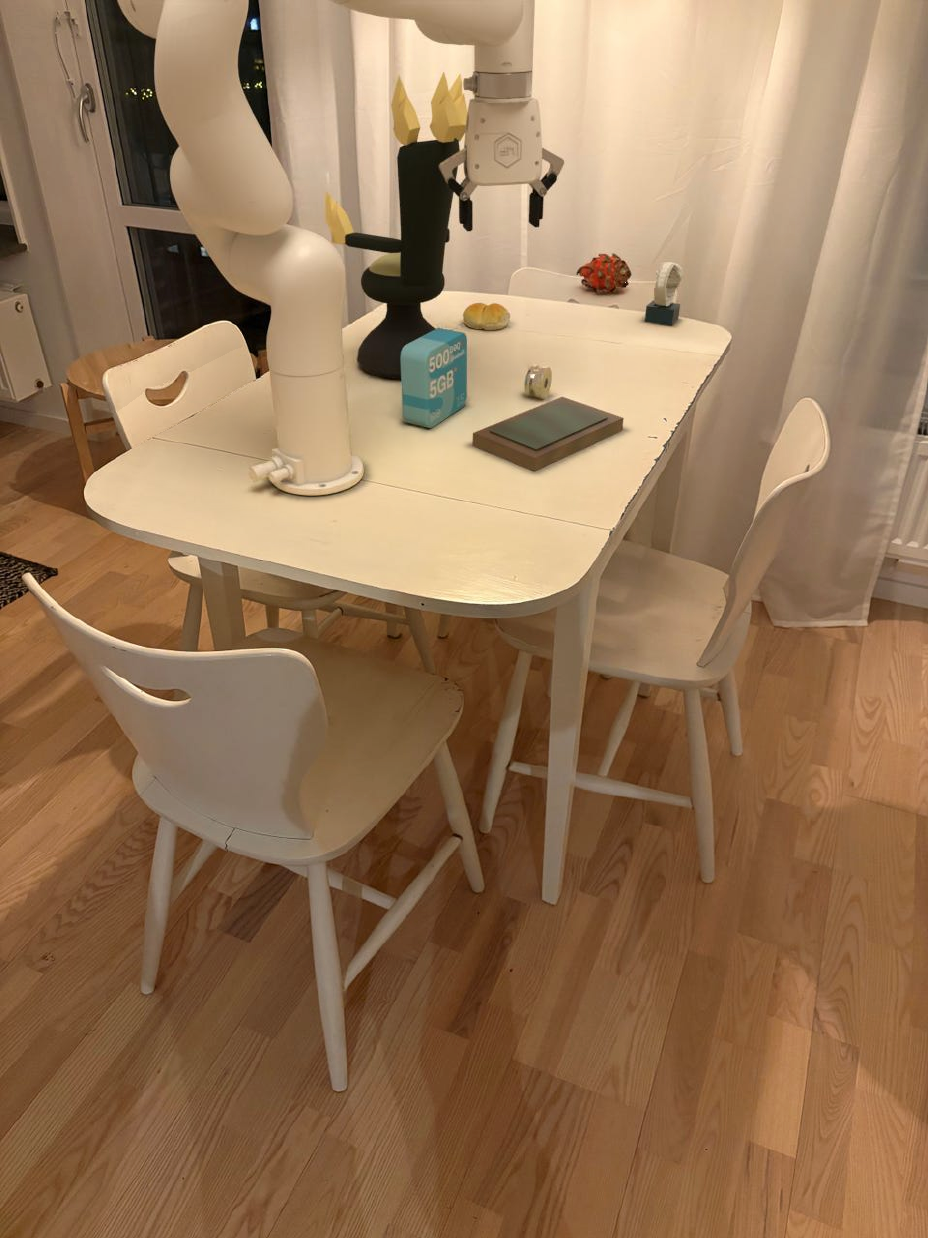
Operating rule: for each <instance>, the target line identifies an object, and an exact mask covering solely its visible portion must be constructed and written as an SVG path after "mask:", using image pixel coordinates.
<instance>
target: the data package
mask: <svg viewBox="0 0 928 1238" xmlns="http://www.w3.org/2000/svg"><path fill="white" fill-rule="evenodd" d="M467 380H468V337H467V334H466V333H465V332H463V331H458V330H453V329H447V328H443V327H437V328H436V329H435V330H434V331H432V332H430V333H428V334H426V335H424V336H422V337H420V338H418V339H416V340H414V341H412V342H411V343H409V344H407V345H405V346H404V347H403V349H402V352H401V379H400V381H401V382H400V383H401V384H400V385H401V405H402V407H401V409H402V410H401V411H402V419H403V421H404V422H405V423H407V424H411V425H415V426H418V427H419V426H420V427H423V428H427V429H432V428H435V426H437V425H438V424H440V423H442V422H444V420H445V419H448V418H449V417H450V416H452V415H453V414H455V413H457V412H458V411H459V410H461V409H463V407H464V406H465V404H466V401H467V398H468V397H467V396H468V386H467V385H468V381H467Z"/></svg>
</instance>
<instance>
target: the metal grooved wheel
mask: <svg viewBox="0 0 928 1238" xmlns="http://www.w3.org/2000/svg"><path fill="white" fill-rule="evenodd" d="M552 373H553V372H552V368H551V367H550V366H544V365H542V366H541V367H540V366H539V364H538V365H537V364H533V365H531V366H529V368H528V370H527V371H526V374H525V377H524V393H525V394H526V396H528V397H529V398H534V397H536V398H537V399H541V400H545V399H546V398H547V397H548V395H549V393H550V390H551V386H552V379H553V374H552Z"/></svg>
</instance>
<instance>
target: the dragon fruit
mask: <svg viewBox="0 0 928 1238" xmlns="http://www.w3.org/2000/svg"><path fill="white" fill-rule="evenodd" d="M631 271H632V270H630V266H629V265H628V264H627V262H626V261H625V260H623V259H622V258H621V257H620V256H619V255H617V253H613V252H612V253H611V256H610V255H609V254H607V253H598V256H597V257H592V259H591V261H590V262H587V263H585V264H584V265H582V266H580V267H579V268H578V269H577V271H576V276H578V275H579V276H580V277H583V278H582V279H581V280H580V282H581V285H583V286H584V287H585V288H587V289H592V290H594V291H596V292H597V294H598V295H600V294H602V293H605V291H607V292H608V294H615V293H617V288H618V289H624V288H627V287H628V286H629V285H630V283H629V280H630V279H631V277H632V275H633V274H632V272H631ZM625 282H626V283H625Z"/></svg>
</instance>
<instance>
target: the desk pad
mask: <svg viewBox="0 0 928 1238" xmlns="http://www.w3.org/2000/svg"><path fill="white" fill-rule="evenodd" d="M623 427H624V417H622V416H620V415H616V414H614V413H610V412H608V411H606V410H602V409H599V408H596V407H593V406H590V405H587V404H584V403H582V402H579V401H576V400H574V399H570V398H567V397H565V396H560V397H558V398H554V399H552V400H550V401H547V402H545V403H543V404H540V405H538V406H535V407H533V408H531V409H529V410H526V411H523V412H520V413H518V414H516V415H513V416H511V417H508V418H507V419H503V420H501V421H499V422H496V423H494V424H491V425H488V426H486V427H484V428H482V429H479V430H477V431H474V432H472V446H473V447H475V448H477V449H479V450H482V451H485V452H487V453H489V454H492V455H494V456H497V457H499V458H501V459H504V460H506V461H509V462H511V463H513V464H515V465H518V466H521V467H522V468H525V469H528V470H530V471H532V472H536V471H539V470H541V469H542V468H545V467H547V466H549V465H552V464H553V463H556V462H558V461H560V460H562V459H564V458H566V457H568V456H570V455H573V454H575V453H577V452H580V451H581V450H583V449H586V448H587V447H590V446H593V445H595V444H596V443H598V442H600V441H603V440H604V439H607V438H609V437H611V436H613V435H615V434H618V433H619V432H622V431H623Z"/></svg>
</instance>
